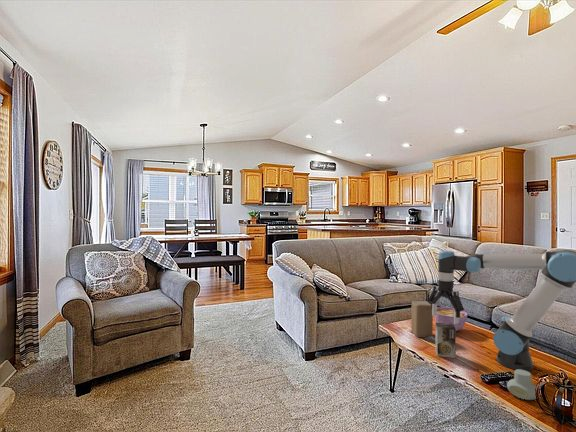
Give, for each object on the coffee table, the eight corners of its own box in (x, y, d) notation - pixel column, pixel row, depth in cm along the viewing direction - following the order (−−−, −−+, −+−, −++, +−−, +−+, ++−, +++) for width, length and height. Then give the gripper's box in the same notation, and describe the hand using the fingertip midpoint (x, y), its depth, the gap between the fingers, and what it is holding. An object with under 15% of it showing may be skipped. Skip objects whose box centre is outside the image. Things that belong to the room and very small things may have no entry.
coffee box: (453, 353, 177) (453, 323, 177) (455, 358, 171) (456, 327, 171) (434, 351, 180) (435, 322, 179) (436, 356, 174) (437, 326, 173)
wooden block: (433, 337, 199) (433, 305, 198) (416, 337, 199) (416, 305, 198) (426, 331, 209) (426, 300, 208) (410, 331, 209) (411, 300, 208)
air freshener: (503, 393, 139) (504, 369, 139) (512, 387, 143) (512, 364, 143) (534, 405, 130) (534, 380, 130) (542, 399, 134) (542, 374, 134)
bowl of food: (426, 325, 219) (426, 308, 219) (450, 322, 225) (450, 306, 225) (449, 336, 200) (449, 318, 200) (474, 333, 206) (475, 314, 206)
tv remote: (455, 348, 185) (455, 343, 185) (451, 349, 183) (451, 345, 183) (428, 338, 198) (429, 335, 198) (424, 340, 196) (424, 336, 196)
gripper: (472, 284, 165) (471, 325, 166) (431, 274, 188) (430, 311, 188) (462, 285, 162) (461, 328, 162) (422, 275, 184) (421, 313, 185)
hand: (444, 319), depth 175 cm, fingers open, 13 cm apart
